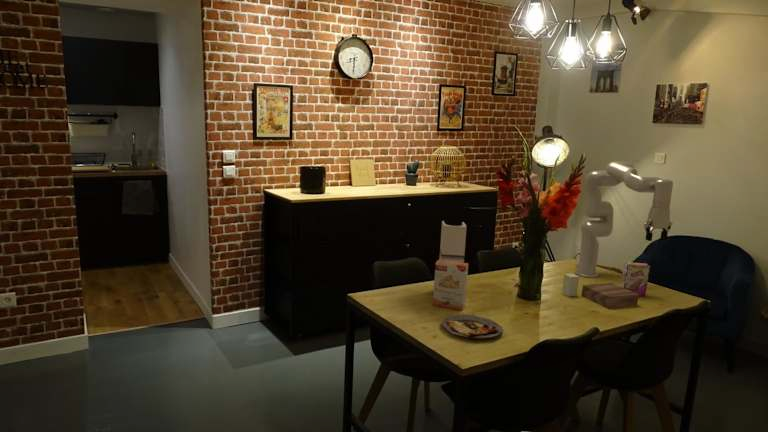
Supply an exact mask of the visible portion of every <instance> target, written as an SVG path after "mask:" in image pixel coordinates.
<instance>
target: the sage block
mask: <svg viewBox="0 0 768 432" xmlns="http://www.w3.org/2000/svg"><path fill="white" fill-rule="evenodd" d="M579 279H580V276H579V275H577V274H574V273H564V274H563V282H562V291H561V293H562V294H563V295H565V296H567V297H577V296H578V288H579V287H578V286H579Z"/></svg>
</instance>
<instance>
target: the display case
mask: <svg viewBox="0 0 768 432" xmlns="http://www.w3.org/2000/svg"><path fill="white" fill-rule="evenodd" d="M466 239H467V224H466V223H465V222H464V221H462V222H461V225H450V224H446V222H445V220H442V221H441V231H440V245H439V246H440V247H439V259H441V260H448V261H454V262H461V263H465V256H466V255H465V254H466V253H465V252H466V251H465V250H466ZM439 259H438V260H439Z"/></svg>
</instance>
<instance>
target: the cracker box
mask: <svg viewBox="0 0 768 432" xmlns="http://www.w3.org/2000/svg"><path fill="white" fill-rule="evenodd" d="M468 270H469V263H468V262H464V263H462V262H454V261H448V260H441V259H438V260H436V262H435V268H434V280H433V281H434V282H433V292H432V293H433V295H432V306H435V307H439V308H440V307H441V308H447V309H452V310H457V311H463V310H464V308H465V307H466V296H467V286H468V274H469V271H468Z"/></svg>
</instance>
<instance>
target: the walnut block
mask: <svg viewBox="0 0 768 432" xmlns="http://www.w3.org/2000/svg"><path fill="white" fill-rule="evenodd" d="M581 297H583V298H585V299H587V300H590V301H592V302H594V303H596V304H598V305H599V306H602V307H603V308H606V309H613V308H612V307H615V308H625V307H624V306H626V307H636V306H638V302H639V301H638V300H639V297H640V296H639V294H637V293H634V292H632V291H630V290H627V289H625V288H622V287H621V286H620V285H617V284H615V283H612V282H607V283H593V284H590V283H589V284H583V285H582V289H581ZM635 305H636V306H635Z"/></svg>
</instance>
